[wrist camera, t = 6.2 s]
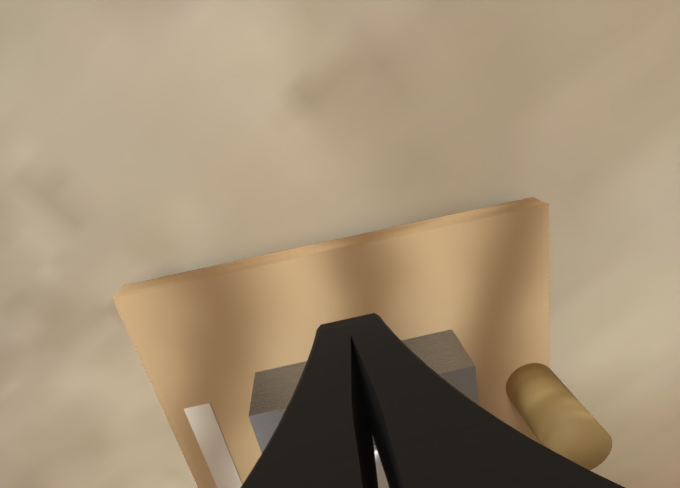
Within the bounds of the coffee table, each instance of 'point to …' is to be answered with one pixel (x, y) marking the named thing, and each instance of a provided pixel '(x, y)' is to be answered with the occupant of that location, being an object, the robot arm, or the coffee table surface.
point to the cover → (441, 357)
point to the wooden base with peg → (352, 301)
